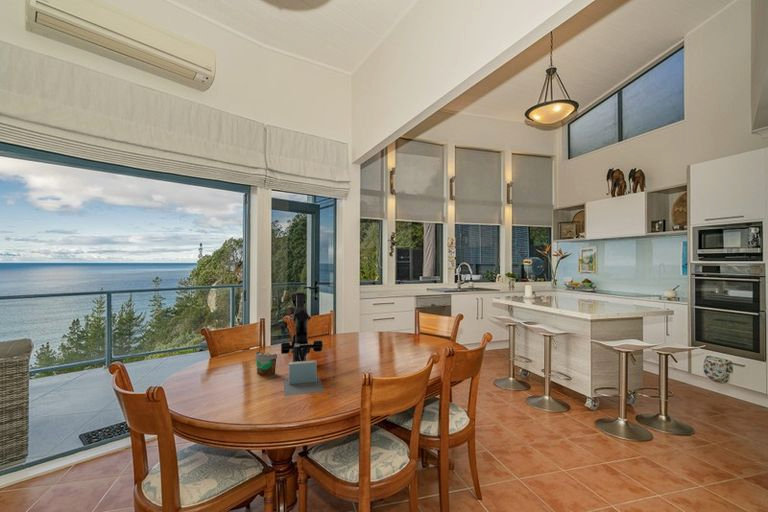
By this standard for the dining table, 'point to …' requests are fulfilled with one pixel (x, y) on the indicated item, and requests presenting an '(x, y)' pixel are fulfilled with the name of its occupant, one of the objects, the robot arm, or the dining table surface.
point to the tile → (302, 372)
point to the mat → (302, 387)
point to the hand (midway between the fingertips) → (302, 363)
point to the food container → (265, 363)
